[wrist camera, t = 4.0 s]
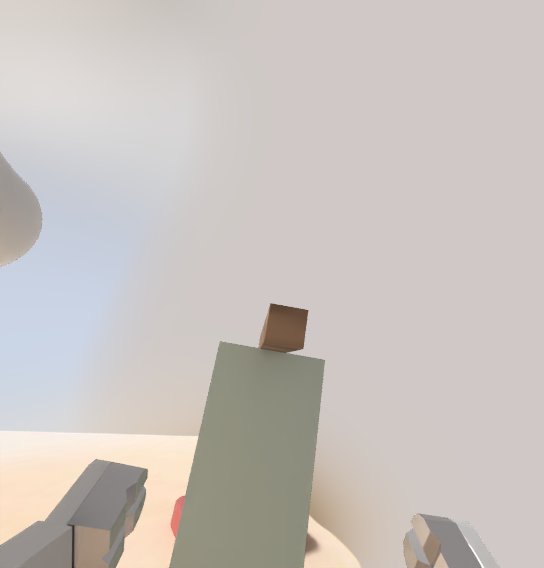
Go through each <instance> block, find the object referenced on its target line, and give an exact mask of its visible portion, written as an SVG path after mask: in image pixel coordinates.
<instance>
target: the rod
mask: <svg viewBox="0 0 544 568" xmlns="http://www.w3.org/2000/svg"><path fill="white" fill-rule="evenodd" d="M307 315H308V310H305V309H299V308H293V307H288V306H283V305H277V304H270V307H269V310H268V314H267V317H266V320H265V323H264V326H263V329H262V333H261V336H260V342H259V347H258V348H260V349H266V350H272V351H277V352H283V353H287V352H292V351H296V350H301V349H303V347H304V338H305V331H306V324H307Z"/></svg>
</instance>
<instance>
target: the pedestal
mask: <svg viewBox="0 0 544 568" xmlns="http://www.w3.org/2000/svg"><path fill="white" fill-rule="evenodd" d="M324 364H325V360H322V359H316V358H311V357H306V356H300V355H294V354H289V353H283V352H277V351H272V350H266V349H260V348H255V347H249V346H243V345H238V344H232V343H226V342H220V344H219V348H218V352H217V357H216V361H215V366H214V370H213V375H212V379H211V383H210V388H209V392H208V397H207V401H206V406H205V410H204V415H203V419H202V424H201V428H200V433H199V437H198V442H197V446H196V450H195V455H194V459H193V464H192V468H191V473H190V477H189V482H188V486H187V491H186V495H185V500H184V504H183V509H182V513H181V517H180V522H179V526H178V531H177V535H176V540H175V544H174V549H173V553H172V558H171V562H170V567H169V568H304V558H305V549H306V539H307V529H308V519H309V509H310V500H311V490H312V480H313V471H314V470H313V469H314V461H315V451H316V442H317V432H318V422H319V412H320V402H321V393H322V383H323V373H324Z"/></svg>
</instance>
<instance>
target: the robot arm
mask: <svg viewBox="0 0 544 568" xmlns="http://www.w3.org/2000/svg"><path fill="white" fill-rule="evenodd" d="M41 227H42V212H41V209H40V205H39V202H38V199H37V198H36V196H35V194H34V192H33V191H32V189H31V188H30V186H29V185H28V184H27V183H26V182H25V181H23V179H22V178H21V177H20V176H19V175H18V174H17V173H16V172H15V171H14V170H13V168H12V167H11V166H10V165H9V163H8V162H7V161H6V159H5V158H4V157H3V155H2V154H1V153H0V267H2V266H4V265H7V264H9V263H11V262H13V261H15V260H17V259H18V258H20V257H21V256H23V255H24V254H25V253H26V252H27V251H29V250H30V248H31V247H32V246H33V245H34V244H35V242H36V240H37V239H38V237H39V234H40V231H41ZM147 473H148V469H145V468H140V467H135V466H130V465H125V464H120V463H115V462H109V461H104V460H98V459H96V460H94V461H93V462H92V463H91V464H89V465H88V467H87V468H86V469H85V471H84V472H83V473H82V474H81V476H80V477H79V478H78V479H77V481H76V482H75V483H74V484H73V486H72V487H71V488H70V490H69V491H68V492H67V493H66V495H65V496H64V497H63V498H62V500H61V501H60V502H59V503H58V505H57V506H56V507H55V509H54V510H53V511H52V512H51V514H50V515H49V516H48V517H47V519H46V520H45V521H37V522H36V523H34V524H33V525H31V526H30V527H28V528H26V529H25V530H23V531H22V532H20V533H19V534H17V535H16V536H14V537H13V538H11V539H9V540H8V541H6V542H5V543H3V544H2V545H0V568H116V566H117V564H118V562H119V560H120V557H121V555H122V553H123V550H124V538H126V537H127V536H128V535H129V534H130V533H131V532H133V530H134V528H135V526H136V523H137V521H138V519H139V516H140V514H141V511H142V508H143V505H144V501H145V496H146V489H145V487H144V486H143V485H144V483H145V481H146V479H147ZM411 523H412V525H413V529H412V530H410V531H409V532H407V533H406V536H405V539H404V542H403V544H404V557H405V561H406V564H407V568H500V567H499V566H498V564H497V562H496V561H495V559H494V558H493V556H492V555H491V553H490V552H489V550H488V549H487V547H486V546H485V544H484V543H483V541H482V539H481V538H480V536H479V535H478V533H477V532H476V531H475V529H474V528H473V526H472V525H470V524H469V523H468V522H466V521H460V520H454V519H448V518H444V517H438V516H430V515H424V514H416V515H414V516H413V518H412V521H411Z"/></svg>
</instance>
